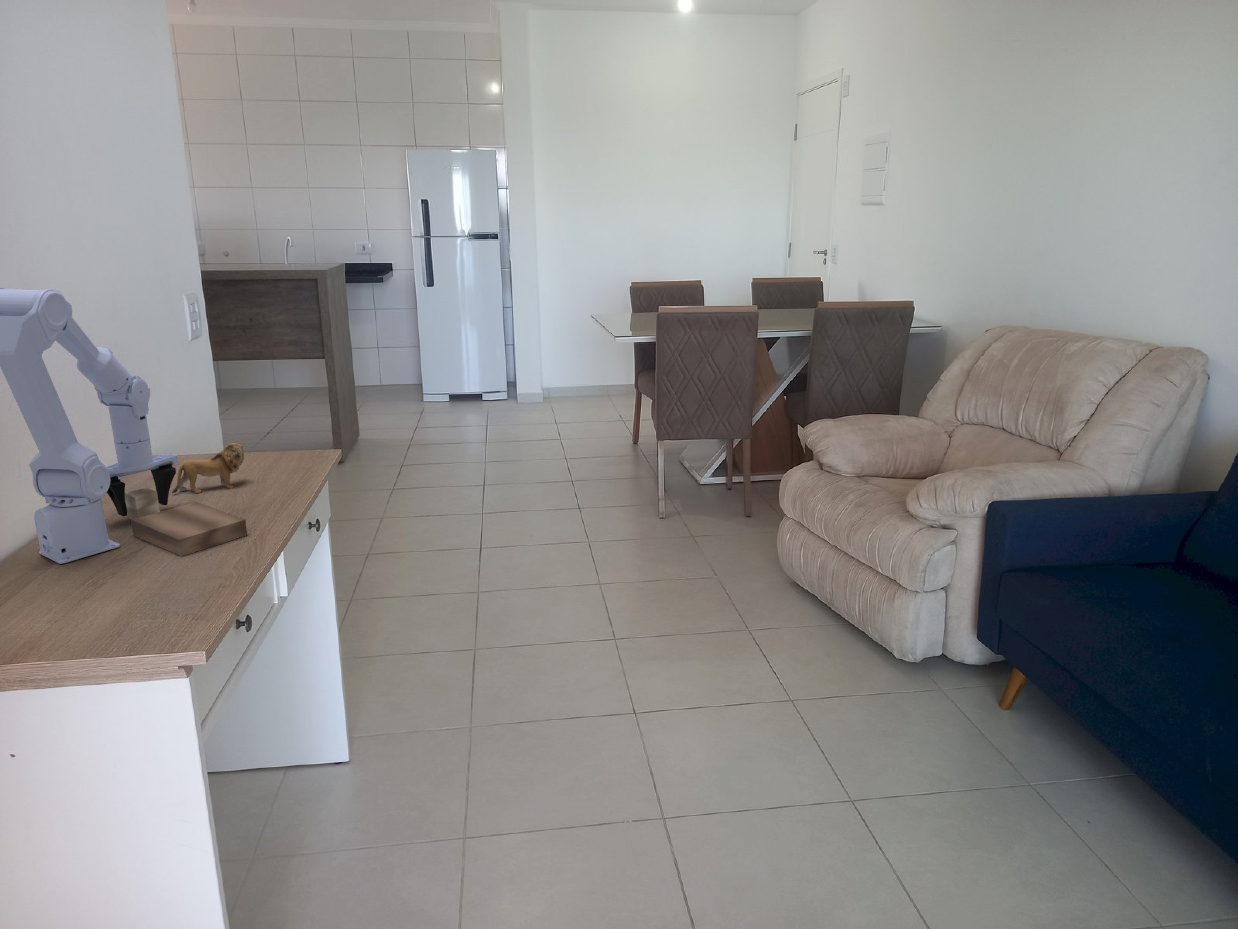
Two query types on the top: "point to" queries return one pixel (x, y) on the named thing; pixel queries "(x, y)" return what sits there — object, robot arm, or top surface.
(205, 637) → the top surface
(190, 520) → the walnut plinth
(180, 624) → the top surface
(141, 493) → the birch block
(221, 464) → the lion figurine
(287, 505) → the top surface
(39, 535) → the robot arm
